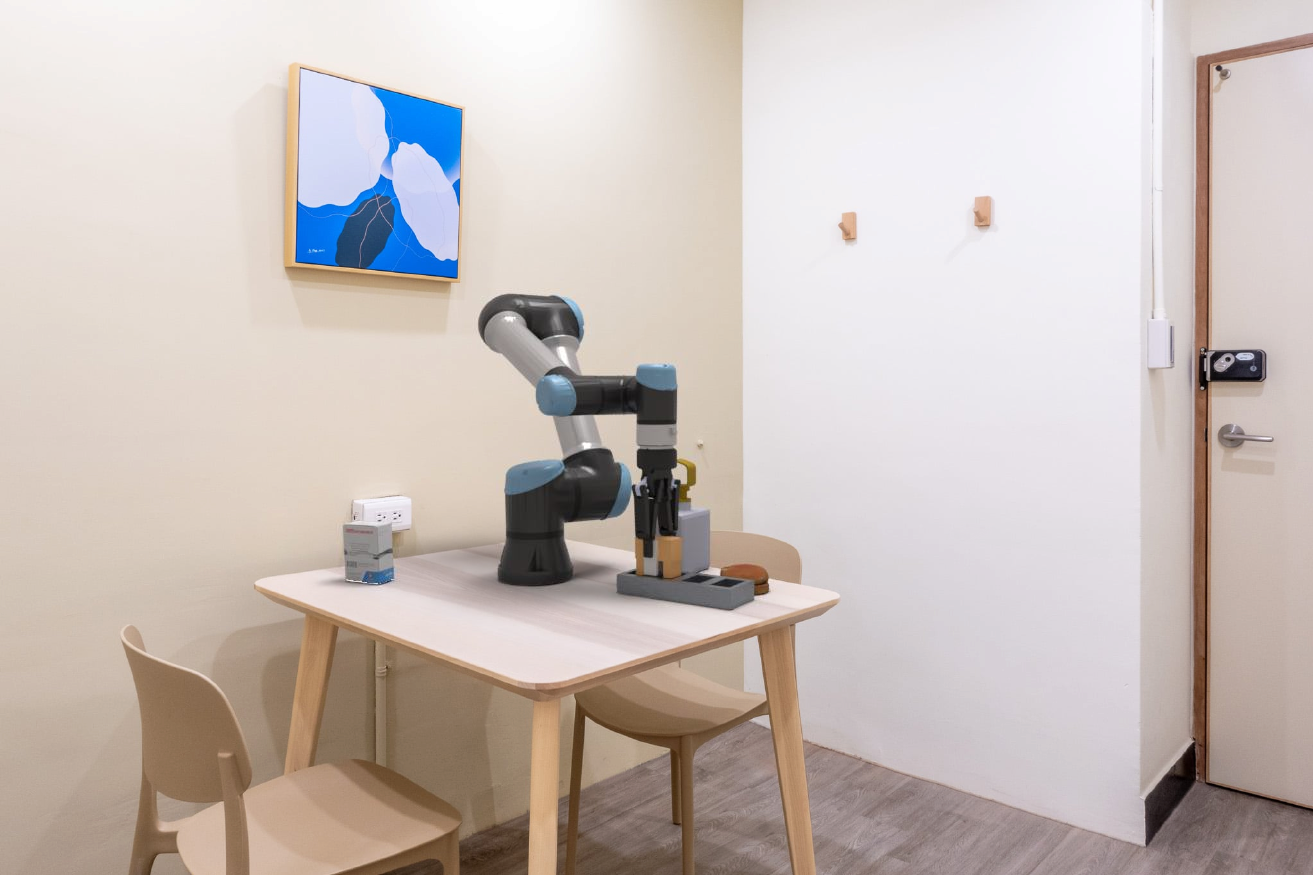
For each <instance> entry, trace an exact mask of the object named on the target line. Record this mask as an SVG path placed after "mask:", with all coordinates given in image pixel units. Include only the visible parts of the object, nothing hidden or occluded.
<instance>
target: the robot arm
mask: <svg viewBox="0 0 1313 875" xmlns="http://www.w3.org/2000/svg"><path fill="white" fill-rule="evenodd" d="M584 320H585V319H584V316H583V313H582V311H581V309H580V307H579V305H578V304H577V302H575V301H574V300H573V299H571V298H569V297H564V296H559V295H554V294H552V295H537V294H536V295H535V294H534V295H533V294H523V293H504V294H500V295H498V296H496V297H494V298H492V299H491V300H490V301H488V302H486V304H485V305H484V306H483V308H482V309H481V311H480V313H479V316H478V320H477V322H478V323H477V329H478V333H479V336H480V338H481V340H482V341H483V343H484V344H485V346H487V347H488V349H490V350H491V351H492V352H494V353H497V354H501V355H502V356H503V357H504V358H505V359H506V360H507V362H509V363H510V364H511V365H512V366H513V367H514V368H515V369H516V370H517V371H518V372H519V373H520V374H521V375H522V376H523V377H524V379H526V380H527V381H528V382H529V383H530V385H531V386H533V388H534V389H535V401H536V405H537V406H538V410H539V411H540V413H542V414H543V415H545V416H549V417H550V416H552V419H553V422H554V426H555V430H556V433H557V438H558V442H559V444H560V449H561V452H562V455H563V457H562V458H561V459H555V458H554V459H544V460H540V459H539V460H534V461H533V460H531V461H528V462H523V463H519V464H516V465H512V466H511V467H509V468H508V469H507V471H506V473H505V481H504V482H505V483H504V502H505V505H504V506H505V509H504V510H505V543H504V546H503V550H502V553H501V556H500V561H499V564H498V565H497V580H498V581H499V582H502V583H504V584H509V585H517V586H541V585H542V586H543V585H544V586H545V585H552V584H558V583H563V582H566V581H569V580H571V579H572V578H574V564H573V562H572V561H571V557H570V553H569V549H568V547H567V543H566V540H565V524H567V523H579V522H589V521H605V520H607V519H612V518H617V517H620V516H621V515H622V514H623V513H624V512H625V511H626V510H627V508H628V506H629V504H630V500H631V496H632V494H633V508H634V509H633V510H634V515H633V516H634V534H635V535H634V537H637V538H638V539H642V540H643V556H644V574H647V575H654V576H657V575H658V570H659V571H663V561H658V540H655V534H656V524H657V517H658V527H659V534H660V535H661V536H667V537H671V536H676V534H677V532H674V531H677V530H678V512H679V490H680V485H681V484H682V480H681V479H678V478H674V475H673V472H672V470H674V469H676V468H677V466H678V463H677V459H678V450H677V448H674V447H675V446H677V445H678V437H677V436H678V429H677V428H678V427H677V421H678V420H677V419H678V388H679V386H678V382H677V380H678V378H677V368H676V367H675V365H673V364H670V363H642V364H639V365H637V367H636V371H635V372H636V373H635V375H624V374H622V375H582V372H581V371H582V370H581V368H580V365H579V360H578V357H577V354H576V353H577V352H578V351H579V349H580V344H581V343H582V341H583V339H584V335H585V329H584V326H585V321H584ZM614 415H615V416H617V415H619V416H621V415H623V416H625V415H636V423H635V424H636V432H635V438H636V440H635V442H636V443H635V445H636V446H639V448H637V450H636V467H637V468H638V469H639V470H641V475H640V482H639V483H638V484H634V483H633V482H632V476H631V472H630V470H629V467H628V466H627V465H626V464H624V463H623V462H620V461H615V458H614V456H613V452H612V450H611V449H610V448H608V447H606V446H605V445H603V443H602V440H601V437H600V433H599V430H598V426H597V421H596V419H595V416H614ZM672 523H673V525H672Z"/></svg>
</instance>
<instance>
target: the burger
mask: <svg viewBox="0 0 1313 875" xmlns="http://www.w3.org/2000/svg"><path fill="white" fill-rule="evenodd" d="M719 576H726V577H734V578H741V579H749V580H754V595H763V594H765V593H768V592H769V591H770V583H769V579H770V578H769V577H770V576H769V573H768V571H767V569H765V568H764V567H762V566H760V565H756V564H750V563H749V564H748V563H743V564H742V563H741V564H740V563H739V564H732V565H729V566H724V567H722V568H720V572H719Z"/></svg>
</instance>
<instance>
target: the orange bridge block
mask: <svg viewBox="0 0 1313 875" xmlns="http://www.w3.org/2000/svg"><path fill="white" fill-rule="evenodd" d="M655 540H658V561H663V578H674V577H677V576H680V575H681V559H682V538H679V537H667V536H656V535H655ZM634 559H635V565H636V566H635V568H636V574H637V575H646V574H644V556H643V540H642V539H638V538H637V537H636V536H634Z"/></svg>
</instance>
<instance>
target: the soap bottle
mask: <svg viewBox="0 0 1313 875" xmlns="http://www.w3.org/2000/svg"><path fill="white" fill-rule="evenodd" d="M677 464H680V465H682V466H684V467H685V468H686V480H687V481H686V483H681V485H680V490H679V512H678V530H677V531H674V532H677V534H676V536H671V537H679V538H682V559H681V571H687V572H695V573H699V572H701V571H704V570H706V569H709V568H710V567H711V511H710V509H709V508H705V507H692V498H691V497H688V492H689V491H690V489H691V488H690V487H694V486H695V485H696V483H697V466H696V465H695V463H694V462H691V461H689V460H686V459H684V458H677ZM672 525H673V523H672ZM655 535H656V536H661V535H660V534H659V527H658V517H657V524H656V534H655Z"/></svg>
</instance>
